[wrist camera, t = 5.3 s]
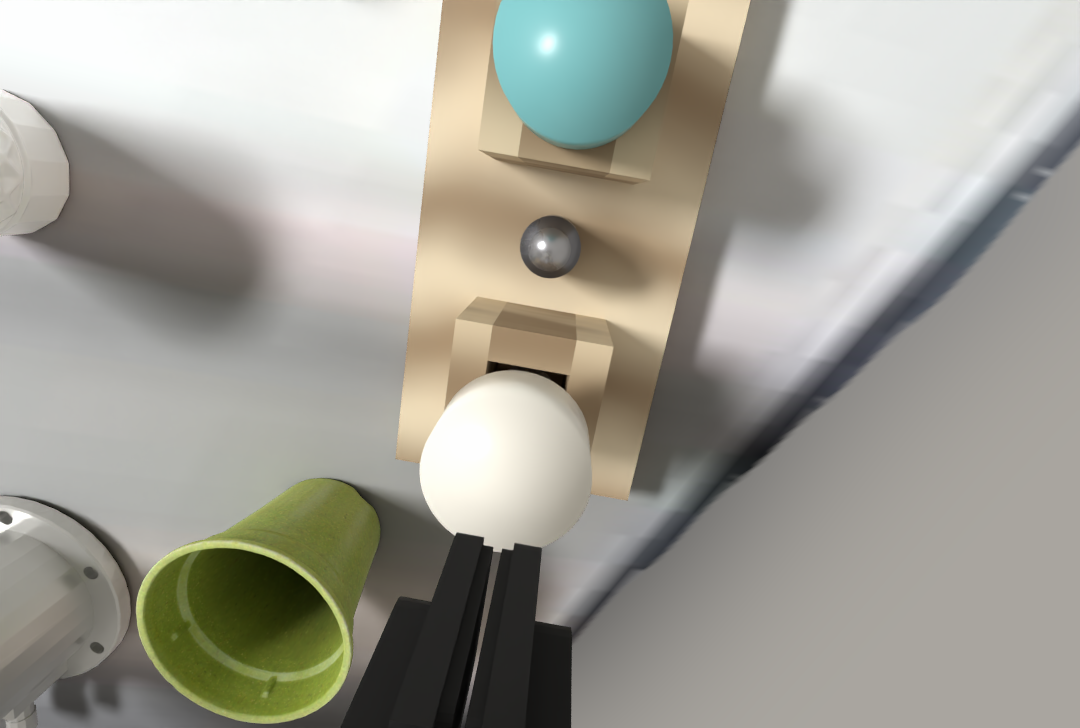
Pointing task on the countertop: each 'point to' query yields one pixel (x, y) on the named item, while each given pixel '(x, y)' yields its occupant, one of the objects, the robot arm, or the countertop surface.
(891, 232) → the countertop surface
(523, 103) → the teal knob
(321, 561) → the plant pot
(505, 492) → the ivory knob
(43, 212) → the white cup
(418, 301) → the mount
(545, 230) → the grey metal peg
